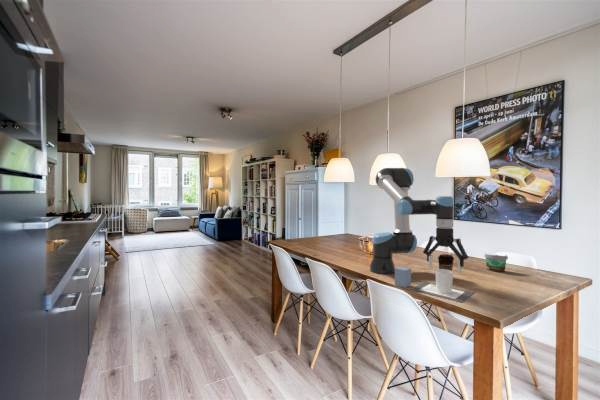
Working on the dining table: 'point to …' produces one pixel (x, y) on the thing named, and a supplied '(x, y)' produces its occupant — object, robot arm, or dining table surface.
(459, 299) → the desk mat
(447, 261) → the coffee cup
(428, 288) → the letter
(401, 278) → the block
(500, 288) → the dining table surface
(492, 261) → the food container
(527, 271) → the dining table surface
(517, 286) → the dining table surface
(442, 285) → the white cup
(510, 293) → the dining table surface
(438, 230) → the robot arm
